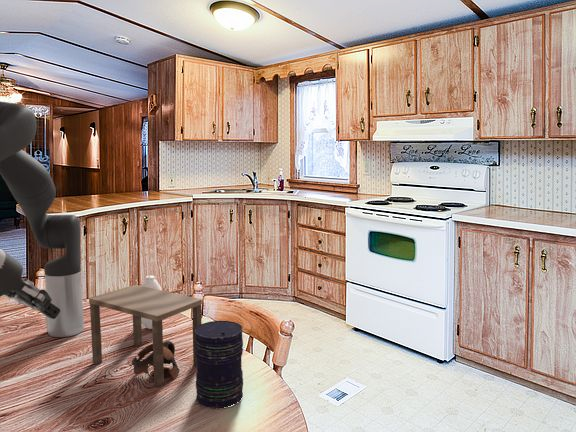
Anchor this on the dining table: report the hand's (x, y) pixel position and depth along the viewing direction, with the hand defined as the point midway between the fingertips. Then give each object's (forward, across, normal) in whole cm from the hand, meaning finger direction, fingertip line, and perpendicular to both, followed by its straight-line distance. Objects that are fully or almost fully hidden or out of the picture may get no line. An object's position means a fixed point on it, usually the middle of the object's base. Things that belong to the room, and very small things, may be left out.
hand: (55, 314), depth 96 cm
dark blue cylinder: (+28, -25, 0) cm, 37 cm away
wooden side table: (+30, 0, -2) cm, 30 cm away
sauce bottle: (+42, +17, -14) cm, 47 cm away
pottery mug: (+28, -6, -1) cm, 29 cm away
